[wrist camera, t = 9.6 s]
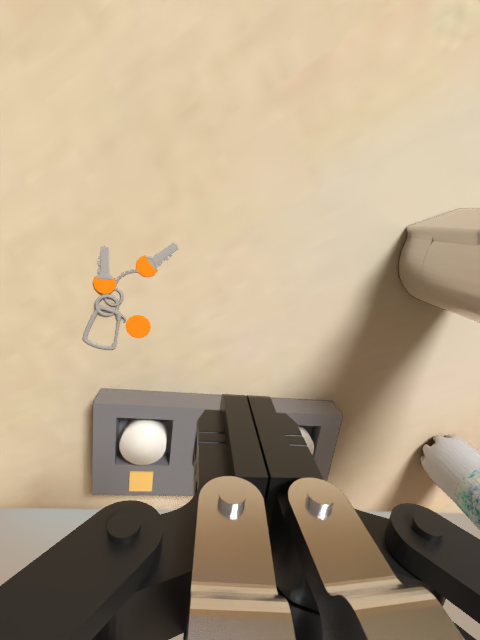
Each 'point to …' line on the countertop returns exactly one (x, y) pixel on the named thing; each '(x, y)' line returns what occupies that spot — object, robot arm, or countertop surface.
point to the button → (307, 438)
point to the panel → (183, 438)
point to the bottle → (455, 472)
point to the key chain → (107, 284)
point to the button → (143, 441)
